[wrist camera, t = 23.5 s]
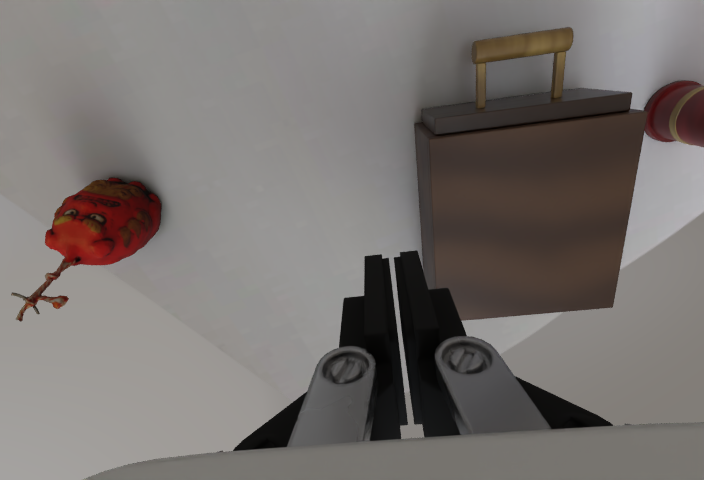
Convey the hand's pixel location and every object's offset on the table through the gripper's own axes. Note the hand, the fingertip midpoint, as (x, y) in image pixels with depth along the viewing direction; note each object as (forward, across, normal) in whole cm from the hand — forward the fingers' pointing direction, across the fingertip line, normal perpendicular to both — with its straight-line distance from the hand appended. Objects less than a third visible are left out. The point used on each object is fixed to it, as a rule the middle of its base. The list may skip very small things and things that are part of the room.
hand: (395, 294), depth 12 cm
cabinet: (+25, -11, +6) cm, 28 cm away
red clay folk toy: (+25, +25, +3) cm, 36 cm away
